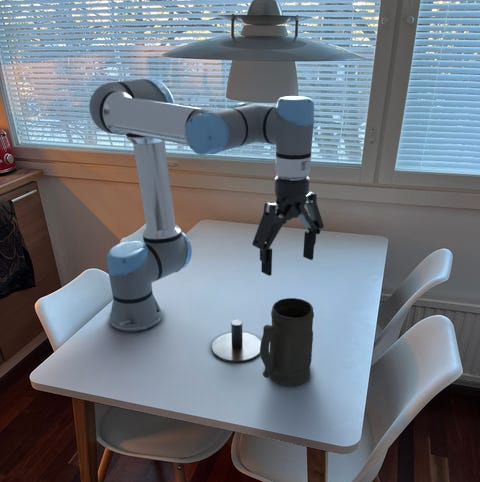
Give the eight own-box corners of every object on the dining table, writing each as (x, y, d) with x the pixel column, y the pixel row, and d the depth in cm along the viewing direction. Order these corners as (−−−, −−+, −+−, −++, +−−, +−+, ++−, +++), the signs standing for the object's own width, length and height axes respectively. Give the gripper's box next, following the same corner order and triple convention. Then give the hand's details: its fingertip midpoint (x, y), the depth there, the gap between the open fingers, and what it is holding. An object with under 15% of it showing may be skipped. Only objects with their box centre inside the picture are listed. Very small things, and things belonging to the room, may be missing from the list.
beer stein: (285, 354, 128) (285, 291, 117) (319, 369, 122) (323, 304, 111) (250, 385, 119) (246, 320, 107) (286, 403, 113) (285, 336, 101)
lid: (201, 347, 131) (200, 322, 127) (237, 328, 140) (237, 304, 135) (236, 369, 123) (236, 343, 118) (272, 347, 131) (273, 322, 127)
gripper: (259, 190, 93) (258, 286, 104) (344, 169, 106) (335, 256, 117) (236, 182, 98) (237, 274, 109) (319, 163, 111) (313, 247, 122)
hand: (287, 265), depth 113 cm, fingers open, 13 cm apart
